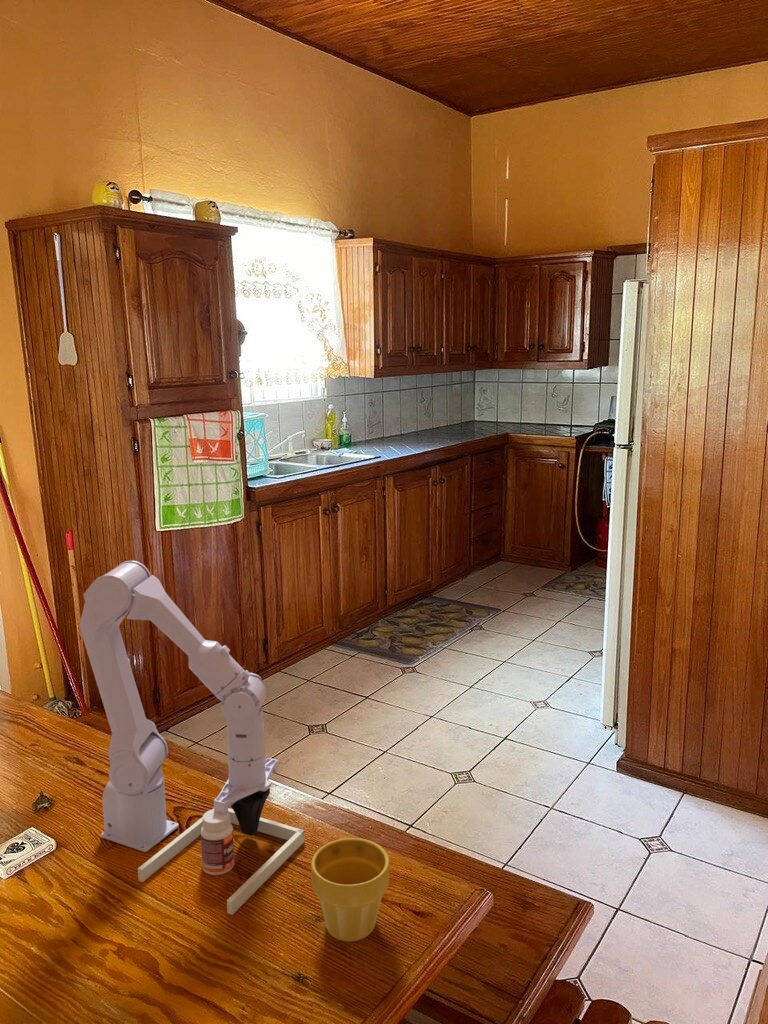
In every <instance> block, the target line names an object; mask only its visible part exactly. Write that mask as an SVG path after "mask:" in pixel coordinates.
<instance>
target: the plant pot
mask: <svg viewBox="0 0 768 1024" xmlns="http://www.w3.org/2000/svg"><path fill="white" fill-rule="evenodd" d="M310 875H311V876H310V878H311V887H312V890H313V892H314V894H315V895H316V897H318V900H319V904H320V908H321V912H322V916H323V920H324V924H325V927H326V930H327V932H328V934H330V936H332V937H333V938H335V939H336V940H339V941H341V942H349V943H350V942H351V943H352V942H357V941H360V940H363V939H365V938H366V937H368V936H369V935H370V934H371V933H372V932H373V931H374V929H375V926H376V924H377V923H376V922H377V919H378V918H377V917H378V914H379V913H378V912H379V909H380V906H381V901H382V897H383V895H384V894H385V893H386V891H387V889H388V886H389V883H390V881H389V880H390V857H389V855H388V853H387V852H386V850H385V849H384V848H383V847H382V846H381V845H379V844H377V843H376V842H374V841H371V840H369V839H365V838H360V837H344V838H337V839H336V840H332V841H329V842H328V843H326V844H324V845H322V846H320V847H319V848H318V849H317V850H316V851H315V853H314V854H313V856H312V858H311V863H310Z"/></svg>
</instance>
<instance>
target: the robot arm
mask: <svg viewBox="0 0 768 1024" xmlns="http://www.w3.org/2000/svg"><path fill="white" fill-rule="evenodd" d="M83 598H84V604H83V609H82V613H81V619H80V622H79V629H80V633H81V637H82V639H83V643H84V647H85V649H86V652H87V656H88V659H89V662H90V666H91V670H92V672H93V675H94V678H95V679H94V680H95V681H96V685H97V688H98V693H99V695H100V698H101V700H102V705H103V707H104V710H105V715H106V718H107V722H108V724H109V728H110V730H111V736H110V742H109V746H108V751H107V752H108V753H107V755H108V758H109V763H110V764H109V770H108V779H109V781H108V782H107V784H106V785H105V787H104V790H103V793H102V799H101V800H102V813H103V815H102V816H103V824H104V826H103V827H104V831H103V832H102V833H100V838H102V839H104V840H108V841H112V842H115V843H117V844H120V845H123V846H125V847H129V848H131V849H134V850H137V851H139V852H144V853H146V852H148V851H149V850H151V848H153V847H155V846H156V845H157V844H158V843H160V842H161V841H162V840H163V839H165V838H166V837H167V836H169V835H170V834H171V833H173V832H174V831H175V830H177V828H179V824H180V823H178V822H175V821H173V820H168V819H167V808H166V807H167V806H166V790H165V775H164V771H163V766H162V765H163V763H164V762H165V761H166V759H167V758H168V757H167V756H168V753H169V748H168V743H167V741H166V740H165V739H164V737H163V736H162V735H161V734H160V733H159V731H158V728H157V726H156V724H155V722H153V721H152V720H149V719H148V718H147V717H146V714H145V709H144V707H143V703H142V701H141V697H140V693H139V690H138V687H137V683H136V681H135V677H134V674H133V670H132V666H131V663H130V660H129V656H128V653H127V650H126V647H125V642H124V640H123V636H122V633H121V630H120V625H121V623H122V622H123V621H124V619H125V618H126V619H127V620H131V621H132V620H135V621H136V620H137V621H150V622H151V623H152V624H154V626H156V627H157V628H158V629H159V630H160V631H161V632H162V633H163V634H164V635H165V636H167V637H168V638H169V640H171V641H172V642H173V643H174V644H175V645H176V646H177V647H178V648H179V649H180V650H182V652H183V653H185V655H187V658H188V669H190V671H191V672H192V673H193V674H194V675H195V676H196V677H197V678H198V679H199V681H201V683H203V685H204V686H205V687H206V688H207V689H208V690H209V691H210V692H211V693H212V694H213V695H214V696H215V697H216V699H218V700H219V701H220V702H221V705H219V706H220V707H219V708H220V711H221V714H222V716H223V717H224V719H225V720H226V740H227V765H228V766H227V767H228V768H227V770H228V779H227V780H226V782H225V784H224V786H223V787H222V789H221V790H220V792H219V794H218V795H217V797H215V798H214V799H213V808H214V812H217V813H220V814H223V815H225V814H226V813H227V812H228V808H231V809H233V811H234V813H235V815H236V817H237V819H238V822H239V825H240V826H239V825H238V826H239V827H240V830H241V833H242V834H244V835H247V836H250V837H253V836H254V835H255V834H256V833H257V832H258V831H257V829H258V825H259V820H260V817H261V816H262V812H263V809H264V805H265V803H266V802H267V799H268V797H269V795H270V794H271V787H272V781H269V780H270V777H271V776H272V774H276V773H278V772H279V759H276V758H270V757H267V758H266V750H265V749H266V748H265V745H266V744H265V743H266V742H265V723H264V708H263V704H264V702H265V700H266V698H267V686H266V684H265V682H264V681H263V680H262V677H261V676H260V675H259V674H257V673H253V672H249V670H248V669H246V670H245V669H244V668H243V667H242V666H241V665H240V664H239V663H238V661H236V660H235V659H234V658H233V656H232V655H231V654H230V652H231V649H230V648H229V647H228V646H227V645H225V644H224V645H221V644H220V643H219V642H218V641H215V640H208V639H205V637H203V635H202V634H201V633H200V632H199V630H197V629H196V627H195V626H194V624H192V621H190V620H189V618H188V617H187V616H186V615H185V614H184V612H183V611H182V610H181V609H180V608H179V607H178V606H177V605H176V603H175V602H174V600H172V598H171V597H170V596H169V595H168V594H167V592H166V590H165V588H164V587H163V585H162V582H161V581H160V579H159V578H158V577H156V576H155V575H153V574H151V571H149V568H147V567H146V565H145V564H143V563H141V562H139V561H137V560H125V561H123V562H121V563H119V564H118V565H117V566H115V568H113V569H111V570H109V571H108V572H107V573H104V574H103V575H101V576H98V577H97V578H96V579H95V580H94V581H93V582H92V583H91V584H90V585H89V587H88V588H87V589H86V591H85V592H84V593H83ZM126 616H127V617H126Z"/></svg>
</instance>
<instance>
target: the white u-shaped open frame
mask: <svg viewBox="0 0 768 1024" xmlns="http://www.w3.org/2000/svg"><path fill="white" fill-rule="evenodd" d="M212 809H214V807H213V808H212ZM228 812H229V813H230V823H231V824H234V825H236V826H239V827H240V825H239V822H238V819H237V817H236V815H235V813H234V811H233V809H232V808H231V807H229V808H228ZM202 823H203V816H202V817H201V818H199V819H198V820H196V822H194V823H192V825H190V827H188V828H187V829H185V830H184V831H183V832H182V833H181V834H179V835H177V836H176V838H174V839H173V840H172V841H170V842H169V843H168V844H166V845H165V846H164V847H163V848H161V849H160V850H159V851H158V852H157V853H155V854H153V856H151V857H150V858H148V860H147V861H145V862H144V863H142V864H141V865H140V866H138V868H137V877H138V878H137V879H138V882H141V883H143V882H145V881H146V880H147V879H149V878H150V877H151V876H152V875H153V874H155V873H157V871H158V870H159V869H161V868H162V867H163V866H164V865H166V863H168V862H169V861H170V860H172V859H173V858H174V857H176V855H179V853H180V852H182V851H183V850H184V849H185V848H186V847H187V846H189V845H190V844H191V843H193V842H194V841H195V840H196V839H197V838H198V837H201V828H202V827H203V824H202ZM257 832H259V833H263V834H265V835H269V836H273V837H276V838H279V839H283V840H285V841H286V842H285V843H284V844H282V846H281V847H280V848H279V849H278V850H276V851H275V853H274V854H273V855H272V856H271V857H270V858H269V859H268V860H267V861H266V862H264V863H263V864H262V865H261V866H260V867H259V868H258V869H257V870H256V871H255V872H254V873H253V874H252V875H251V876H250V877H249V878H248V879H247V880H246V881H245V882H244V883H243V884H242V885H241V886H239V888H237V890H236V891H235V892H234V893H232V895H231V896H230V897H229V898H227V900H226V909H227V910H226V913H227V914H228V915H231V916H233V915H234V914H235V913H236V912H237V911H238V910H239V909H240V908H241V907H242V906H243V905H244V904H245V903H246V902H247V901H248V900H249V898H251V896H253V895H254V894H255V893H256V891H258V890H259V888H261V886H262V885H263V884H265V882H267V880H269V878H270V877H271V876H273V875H274V874H275V872H276V871H277V870H278V869H279V868H280V867H281V866H282V865H283V864H284V863H286V862H287V860H288V859H289V858H290V857H291V856H293V854H294V853H295V852H296V851H297V850H298V849H299V848H300V847H302V845H303V844H304V843H305V830H304V829H301V828H298V827H294V826H291V825H288V824H285V823H284V824H283V823H281V822H278V821H275V820H270V819H266V818H263V817H261V816H260V820H259V825H258V829H257Z"/></svg>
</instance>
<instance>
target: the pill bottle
mask: <svg viewBox="0 0 768 1024" xmlns="http://www.w3.org/2000/svg"><path fill="white" fill-rule="evenodd" d="M202 817H203V823H202V824H203V827H202V828H201V835H200V845H201V846H200V848H201V850H200V851H201V865H202V866H201V867H202V870H203V872H205V874H208V875H211V876H220V875H224V874H226V873H228V872H230V871H231V870H232V869H233V867H234V866H235V847H234V845H235V844H234V827H233V825H232V823H230V813H229V812H227V813H226V814H225V815H223V814H220V813H217V812H214V809H213V808H212V809H210V810H207V811H206V812H204V813H203V815H202Z"/></svg>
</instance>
